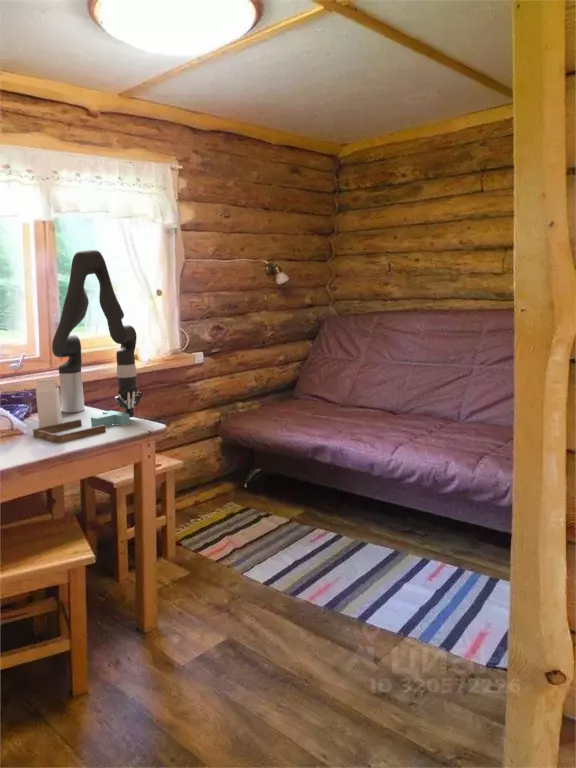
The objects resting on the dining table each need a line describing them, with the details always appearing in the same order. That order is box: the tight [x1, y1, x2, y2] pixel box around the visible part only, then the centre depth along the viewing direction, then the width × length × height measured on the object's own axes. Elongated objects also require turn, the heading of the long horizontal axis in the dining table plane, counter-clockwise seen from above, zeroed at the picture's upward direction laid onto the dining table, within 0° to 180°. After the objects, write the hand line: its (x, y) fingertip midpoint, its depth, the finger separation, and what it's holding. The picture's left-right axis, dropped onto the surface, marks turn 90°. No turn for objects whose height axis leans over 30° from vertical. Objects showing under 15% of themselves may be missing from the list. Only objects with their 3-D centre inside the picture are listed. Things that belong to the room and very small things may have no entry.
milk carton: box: [35, 378, 63, 428], centre depth 234 cm, size 7×7×19 cm
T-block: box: [90, 410, 131, 428], centre depth 237 cm, size 12×12×4 cm
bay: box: [32, 418, 107, 444], centre depth 224 cm, size 17×19×2 cm
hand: (130, 417), depth 245 cm, fingers closed
